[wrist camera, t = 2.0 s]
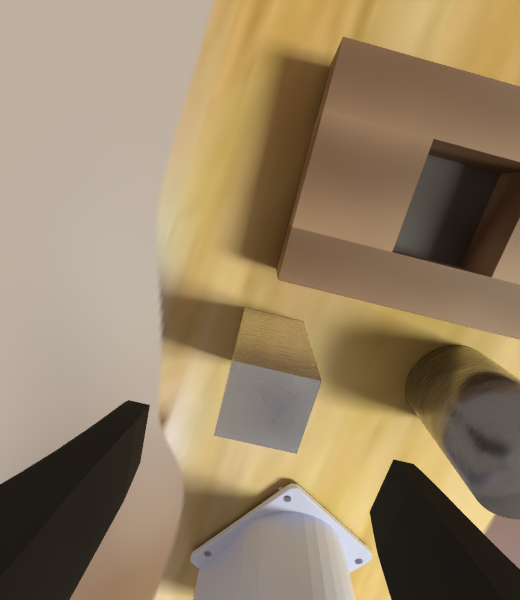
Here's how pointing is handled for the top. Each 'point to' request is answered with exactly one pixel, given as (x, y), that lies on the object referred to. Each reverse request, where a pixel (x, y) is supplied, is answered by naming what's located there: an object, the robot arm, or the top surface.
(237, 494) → the top surface
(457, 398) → the round bit
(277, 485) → the top surface
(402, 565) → the robot arm
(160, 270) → the top surface
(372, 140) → the bore block
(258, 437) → the square bit
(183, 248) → the top surface
